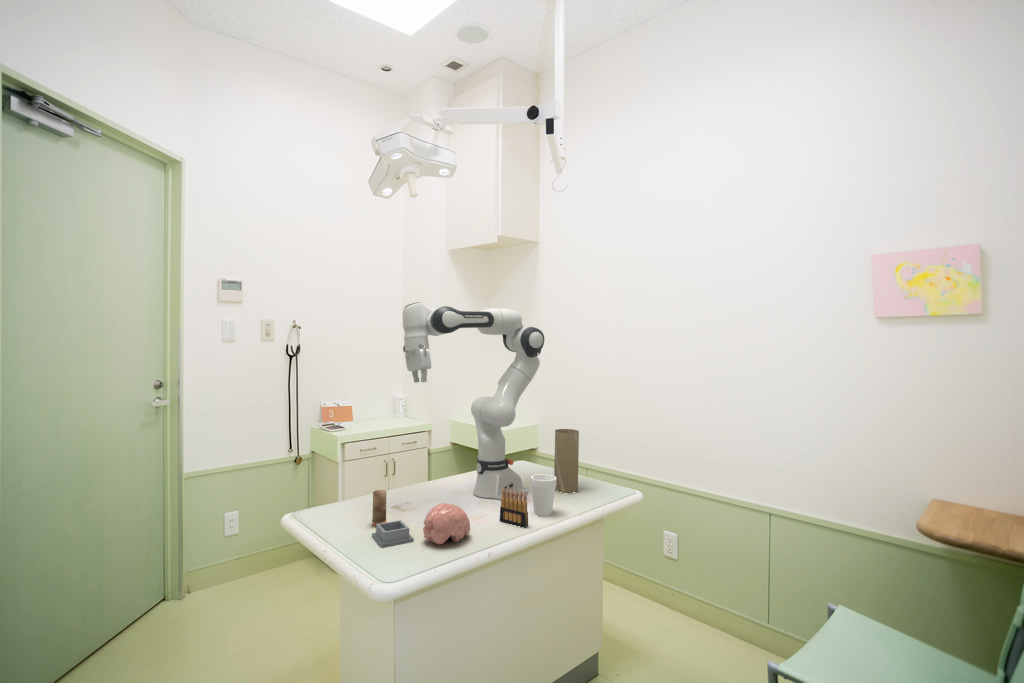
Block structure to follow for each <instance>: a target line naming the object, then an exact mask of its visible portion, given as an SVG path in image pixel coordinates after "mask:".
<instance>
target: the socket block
mask: <svg viewBox="0 0 1024 683" xmlns="http://www.w3.org/2000/svg"><path fill="white" fill-rule="evenodd" d="M371 538H373V540H374V541H375V542H376V543H377V545H379V547H380V548H381V549H382V548H388V547H393V546H397V545H398V546H399V545H403V544H408V543H413V542H414V537H412V535H411V534H410V527H409V525H407V524H406V523H405V522H404V521H402V520H401V519H398V520H394V521H393V520H392V521H386V523H381V524H376V527H375V532H372V533H371Z"/></svg>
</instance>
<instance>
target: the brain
mask: <svg viewBox="0 0 1024 683" xmlns="http://www.w3.org/2000/svg"><path fill="white" fill-rule="evenodd" d="M423 525H424V527H423V528H422V531H423V532H422V533H423V538H424V539H426V540H427V541H428V542H432V543H434V544H435V545H443V544H444V543H445V542H447V541H448V540H449V538H451V540H452V542H454V543H458V542H460V540H462V539H463V538H464V536H467V535H469V533H470V532H471V522H470V519H469V517H468V515H467V513H466V511H465V510H464V509H462V507H460V506H458V505H455V504H453V503H438V504H437V505H435V506H433V507H432V508H431V509H430V510H429V511H428V513H427V514H426V516H425V518H424V521H423Z"/></svg>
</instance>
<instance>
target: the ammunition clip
mask: <svg viewBox="0 0 1024 683" xmlns="http://www.w3.org/2000/svg"><path fill="white" fill-rule="evenodd" d="M499 522H500V523H504V524H507V525H511V524H512V525H511V526H514V525H516V526H515V527H518V526H520V528H522V527H524V528H523V529H526V527H527V528H528V527H529V512H528V500H527V493H526V492H524V494H522V492H521V490H520V493H519V495H518V492H517V489H516V490H515V495H514V493H513V489H511V493H510V496H509V488H507V491H506V497H505V488H504V487H503V489H502V498H501V499H500V506H499Z"/></svg>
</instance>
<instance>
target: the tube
mask: <svg viewBox="0 0 1024 683" xmlns="http://www.w3.org/2000/svg"><path fill="white" fill-rule="evenodd" d="M579 440H580V431H579V430H578V429H571V428H559V429H558V428H557V429H555V430H554V465H553V466H554V468H553V469H554V470H553V471H554V472H553V476H555V477H556V488H555V492H556V491H558V492H562V493H561V494H563V493H573V492H576V491H579V450H580V449H579V448H580V446H579V445H580V442H579ZM558 492H557V493H558ZM576 493H577V492H576ZM573 494H574V493H573Z"/></svg>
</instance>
